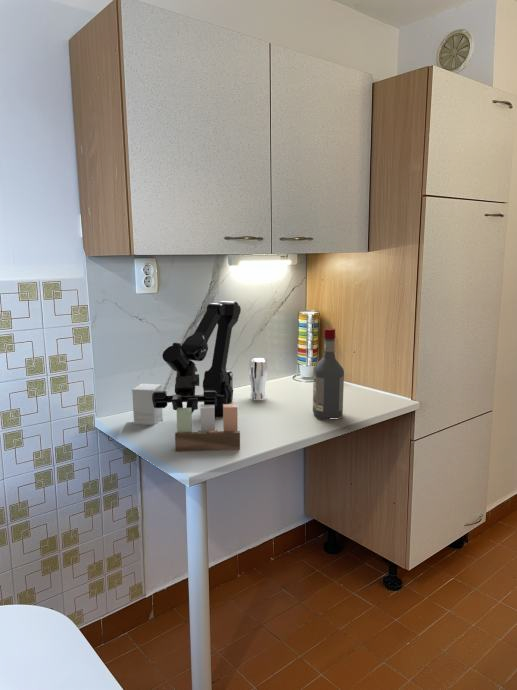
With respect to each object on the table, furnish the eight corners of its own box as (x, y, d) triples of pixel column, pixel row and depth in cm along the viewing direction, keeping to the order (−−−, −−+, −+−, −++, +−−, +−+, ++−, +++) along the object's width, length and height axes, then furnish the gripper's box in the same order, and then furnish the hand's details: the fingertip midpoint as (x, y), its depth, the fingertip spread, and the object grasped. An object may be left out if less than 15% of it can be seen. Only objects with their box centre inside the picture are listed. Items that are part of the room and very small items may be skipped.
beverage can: (211, 401, 200) (210, 370, 198) (224, 398, 205) (224, 367, 202) (223, 405, 195) (222, 373, 193) (236, 401, 200) (236, 370, 198)
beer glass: (261, 395, 209) (261, 357, 206) (270, 399, 203) (271, 360, 200) (245, 397, 205) (245, 359, 202) (254, 402, 199) (254, 362, 196)
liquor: (336, 411, 189) (339, 326, 184) (344, 419, 180) (347, 331, 175) (311, 411, 188) (313, 327, 182) (317, 420, 179) (319, 331, 174)
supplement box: (163, 421, 178) (162, 384, 176) (154, 428, 171) (153, 390, 169) (142, 419, 180) (141, 382, 177) (133, 426, 173) (131, 388, 170)
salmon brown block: (223, 440, 158) (223, 404, 156) (237, 439, 158) (236, 404, 156) (223, 444, 155) (223, 407, 153) (237, 443, 155) (237, 407, 153)
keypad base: (177, 443, 158) (176, 423, 157) (238, 442, 160) (238, 421, 158) (175, 455, 150) (174, 433, 149) (240, 453, 151) (240, 431, 150)
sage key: (178, 444, 154) (177, 408, 152) (192, 444, 155) (191, 407, 153) (177, 448, 152) (176, 411, 149) (191, 448, 152) (191, 410, 150)
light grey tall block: (201, 440, 158) (200, 404, 155) (214, 440, 158) (214, 404, 156) (201, 444, 155) (200, 407, 153) (215, 444, 155) (214, 407, 153)
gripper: (151, 364, 155) (148, 413, 146) (216, 363, 157) (217, 412, 148) (155, 384, 164) (152, 430, 156) (216, 383, 166) (217, 429, 157)
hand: (184, 425), depth 154 cm, fingers closed, pressing on sage key
